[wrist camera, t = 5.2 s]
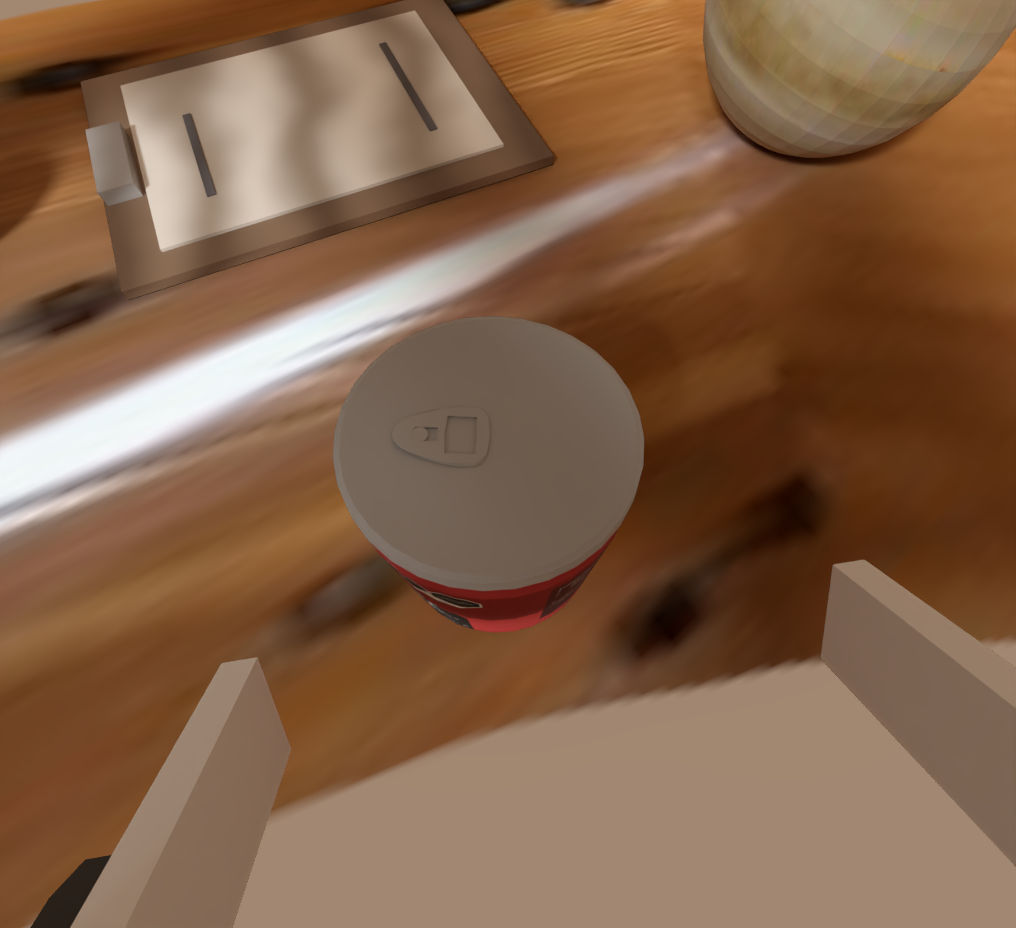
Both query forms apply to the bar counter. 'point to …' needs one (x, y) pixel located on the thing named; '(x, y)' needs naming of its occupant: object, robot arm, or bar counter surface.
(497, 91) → the clipboard
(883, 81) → the decorative ball
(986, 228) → the bar counter surface
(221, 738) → the robot arm
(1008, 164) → the bar counter surface
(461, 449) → the canned food
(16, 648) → the bar counter surface
